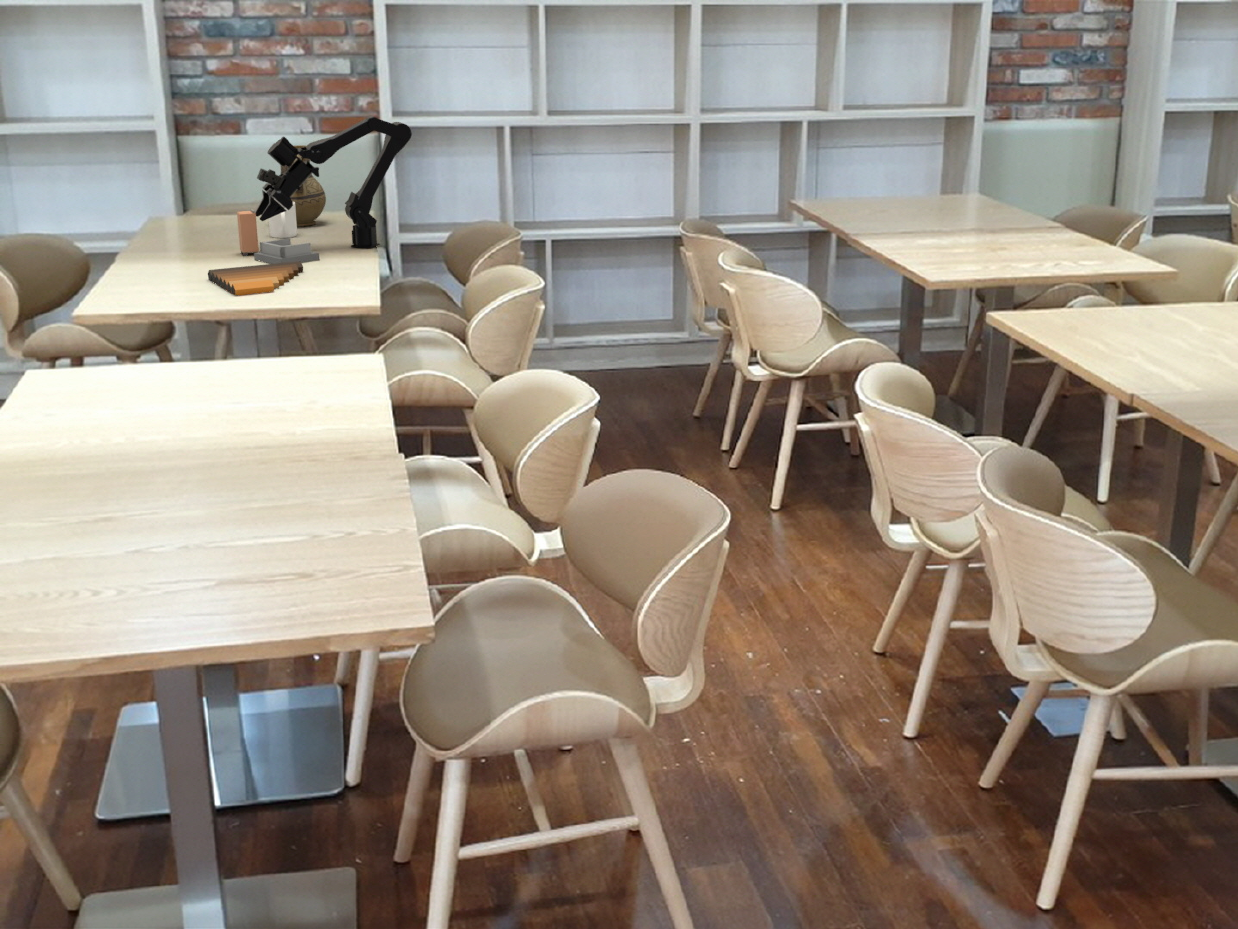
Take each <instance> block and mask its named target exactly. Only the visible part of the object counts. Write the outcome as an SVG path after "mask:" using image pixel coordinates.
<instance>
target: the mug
mask: <svg viewBox="0 0 1238 929" xmlns="http://www.w3.org/2000/svg"><path fill="white" fill-rule="evenodd" d="M285 210H287V209H286V208H285ZM268 224H269V226H268V228H269V233H270V234H269V235H270V237H271V238H275V239H287V238H289V239H291V238H295V237H297V235H298V226H297V223H296V208H295V202H293V206H292V207H291V208H290V210H287V211H286V212H282V213H280V214H278V215H275V216H273V217H271V218H269V219H268Z"/></svg>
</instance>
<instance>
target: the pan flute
mask: <svg viewBox="0 0 1238 929" xmlns="http://www.w3.org/2000/svg"><path fill="white" fill-rule="evenodd" d="M300 272H301V273H304V266H303V263H301V261H297V262H286V263H276V264H269V263H265V264H257V265H248V266H247V265H246V266H239V267H238V266H237V267H226V268H225V267H224V268H215V269H209V270H208V271H207V277H208V281H209V282H212V283H213V282H214V283H213V284H215V283H216V284H217V286H218V287H219V288H222V289H223V290H225V291H226V290H227V291H226V292H227V293H229V292H230V293H229V294H231V295H233V296H234V295H239V296H246V294H249V295H254V294H253V293H258V294H263V293H262V292H267V293H270V292H269V291H274V292H275V289H274V288H278V289H280V286H285V283H289V282H290V280H292V279H295V277H296V276H299V273H300ZM301 273H300V274H301Z"/></svg>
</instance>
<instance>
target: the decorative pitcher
mask: <svg viewBox="0 0 1238 929" xmlns="http://www.w3.org/2000/svg"><path fill="white" fill-rule="evenodd" d="M293 146H294V147H295V148H296V149H297V148H302V147H306V146H307V145H306V144H305V145H300V144H299V145H293ZM297 157H299V158H300V159H301V160H302V161H303V162H305V161H308V162H309V163H310V164H311V161H310V160H309V159H306V158H303V157H301V156H299V155H297ZM296 160H297V159H295V161H296ZM295 161H294V162H295ZM294 162H293V163H294ZM293 163H292V164H293ZM292 164H291V165H290V166H288V167H287V166H286V165H285V166H283V167H282V166H281V165H280V174H281V173H285V172H286V171H287V170H288V169H289V168H290V167H291V166H292ZM287 172H288V171H287ZM300 188H301V189H300V190H299V191H298V190H297V191H296V192H295V193H294V194H293V195H292V196H291V197H290V198H291V200H292V201H293V202H295V208H296V223H297V227H309V226H310V227H311V226H314V225H315V224H316V221H315V220H317V219H318V217H320V216H321V214H322V212H323V211H324V209H325V207H326V203H327V198H326V197H327V196H326V192H325V190H324V188H323V186H322V184H321V183H320V182H319V181H318V180H317V179H316V177H315V176H313V173H312V174H311V175H310V176H309V177H308V179H307V180H306V181H305V182H304V183H303V184H302V185H301V186H300Z"/></svg>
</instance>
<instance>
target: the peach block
mask: <svg viewBox="0 0 1238 929" xmlns="http://www.w3.org/2000/svg"><path fill="white" fill-rule="evenodd" d="M255 212H256V211H255V209H253V208H250V210H243V211H236V215H237V216H236V217H237V229H238V230H237V231H238V239H239V240H238V241H239V250H240V254H241V253H243V254H242V256H243V257H247V256H246V255H248V256H249V253H252V252H253V253H252V254H253V255H254V253H258V252H260V251H259V249H260V247H259V240H258V236H259V235H258V225H257V216H256V213H255Z"/></svg>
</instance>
